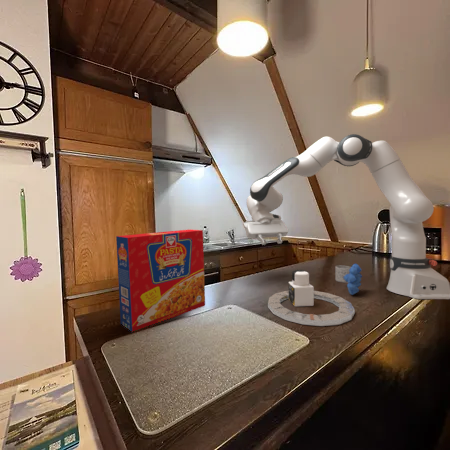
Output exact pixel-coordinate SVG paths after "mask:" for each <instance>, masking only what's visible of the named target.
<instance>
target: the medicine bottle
mask: <svg viewBox="0 0 450 450" xmlns="http://www.w3.org/2000/svg"><path fill="white" fill-rule="evenodd" d="M288 291H289V299H288V300H289V302H290V303H291V305H292V306H294V307H295V308H296V307H313V306H314V304H315V303H314V301H315V300H314V299H315V298H314V291H315V289H314V285H312V284H311V283H310V272H309V271H308V270H305V269H297V270H296V269H295V270H293V271H292V272H291V281H288Z"/></svg>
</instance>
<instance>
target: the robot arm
mask: <svg viewBox="0 0 450 450" xmlns="http://www.w3.org/2000/svg"><path fill="white" fill-rule="evenodd" d="M332 161H334V162H336V163H338V164H339V165H342V166H344V167H353V166H356V165H358V164H359V163H363V164H365V166H366V167H367V168H368V170H369V172H370V174H371V176H372V177H373V180H374V181H375V183H376V186H378V189H379V191H381V192H382V194H383V195H384V196H385V198H386V200H387V201H388V203H389V204H390V205H389V221H390V231H391V232H390V233H391V255H390V260H389V267H390V275H389V278H388V279H389V280H388V284H387V285H386V290H388V291H389V292H392V293H395V294H398V295H402V296H405V297H410V298H412V299H416V300H450V282H449V280H448V279H447V278H446V277H445V276H444V275H442V274H441V273H439V272H438V271H436V270H435V269H433V267H436V266H437V265H438V262H437V260H434V259H429V258H428V257H426V256H427V254H426V253H427V250H426V249H427V238H426V237H427V236H426V235H425V230H424V225H423V222H425V221H427V220H428V219H430V217H432V215H433V214H434V211H435V210H434V204H433V202H432V201H431V200H430V199H429V198H428V197H427V196H426V194H425V192H424V191H423V190H422V189H421V188H420V186H419V185H418V184H417V183H416V181H414V180H413V178H412V177H411V175H410V173H409V172H408V170H407V169H406V166H405V164H404V163H403V161H402V159H401V157H400V156H399V154H398V153H397V151H396V150H395V149H394V148H393V147H392V145H391V144H390V143H389V142H388V141H387V140H384V139H383V140H376V141H374V142H372V141H371V140H369V139H367V138H365V137H364V136H362V135H359V134H357V133H356V134H355V133H352V134H348V135H345V136H344V137H343V138H342V139H340V140H339V141H337V140H336V139H334V138H332V137H331V136H323V137H321V138H320V139H318V140H317V141H315V142H314V143H313V144H311V145H310V146H309V147H307V149H306V150H304V151H303V152H302V153H300V154H299V155H297V156H294V157H290V158H288V159H286V160H284V161H283V162H281V163H280V164H278V166H276V167H275V168H273V169H272V170H271V171H269V172H268V173H266V174H265V175H264V176H262V177H261V178H258V179H256V180H255V181H253V183H252V184H251V186H250V189H249V194H250V195H249V196H247V199H246V207H247V210H248V212H249V213H248V214H249V215H250V216H251V220H246V221H244V222H243V224H242V225H243V227H244V229H245V235H246V237H247V238H248V239H257V240H258V241H259V243H261V245H262V246H263V245H264V246H265V245H267V240H266V239H264V238H277V240H276V243H277V244H278V245H279V244H282V243H283V240H282V237H283V238H284V237H286V236H287V235H288V234H289V229H288V226H287V225H286V223H285V222H284V220H282V217H281V215H279V214H276V213H275V214H274V213H272V212H274V210H277V209H279V207H280V206H281V205H282V204H283V200H284V197H283V193H281V192H280V191H279V190H278V189H276V188H275V187H274V186H275V185H277V184H278V183H279V182H280V181H282V180H283V179H284V178H286V177H287V176H290V175H295V176H297V175H298V176H299V177H300V176H301V177H306V178H308V177H312V176H314V175H317V173H319V172H320V171H322V170H323V168H324V167H325V166H327V165H328V164H329V163H331V162H332Z"/></svg>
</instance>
